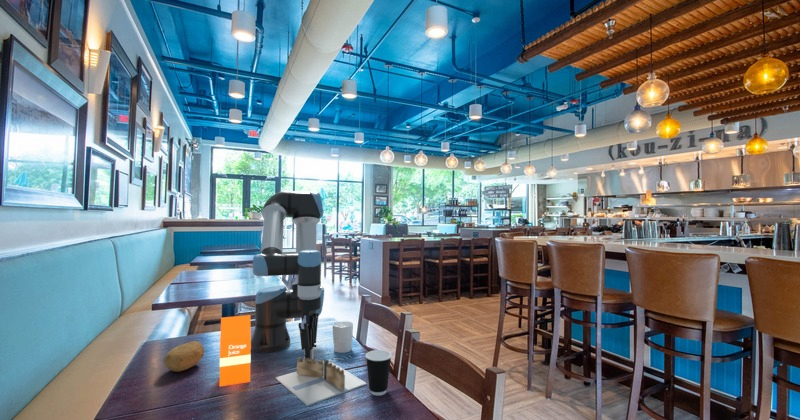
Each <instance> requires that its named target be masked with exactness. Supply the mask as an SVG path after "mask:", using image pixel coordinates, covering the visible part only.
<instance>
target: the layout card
mask: <svg viewBox="0 0 800 420" xmlns="http://www.w3.org/2000/svg"><path fill="white" fill-rule="evenodd" d="M330 362H331V363H332V365H336V368H337V367H339V368H340V370H342V369H343V370H344V375H345V389H344V390H340V389H338V388H337V387H336V386H334V385H333V384H331V383H330V382H328V381H327V380H326V379H324V376H323V377H322V378H321V377H314V376H307V375H300V374H297V370H296V371H292V372H290V373H287V374H283V375H280V376H276V377H275V380H277V381H278V382H279V383H280V384H282V385H283V386H284V387H285V388H286V389H287V390H288V391H289V392H290V393H292V394H293V395H294V396H295V397H296V398H298V400H300V401H301V402H302V403H303V404H304V405H306V406H307V407H309V406H311V405H315V404H317V403H319V402H322V401H325V400H328V399H330V398H333V397H336V396H339V395H341V394H344V393H348V392H350V391H352V390H356V389H358V388H361V387H363V386H367V382H365V381H364V380H362V379H361V378H359V377H357V376H356V375H354V374H352V373H351V372H349V371H347V370H345V369H344V368H342V367H341V366H339V365H338V364H335V363H334V362H332V361H329V363H330Z"/></svg>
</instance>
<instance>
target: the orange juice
mask: <svg viewBox="0 0 800 420" xmlns="http://www.w3.org/2000/svg"><path fill="white" fill-rule="evenodd" d="M251 339H252V334H251V314H248V315H235V316H226V317H225V316H224V317H221V318H220V338H219V387H227V386H231V385H239V384H243V383H244V384H245V383H250V382H251V363H252V361H251V356H252V354H251V351H252V350H251Z"/></svg>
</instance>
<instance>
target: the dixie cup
mask: <svg viewBox="0 0 800 420" xmlns="http://www.w3.org/2000/svg"><path fill="white" fill-rule="evenodd" d="M364 356H365V359H366V369H367V377H368V378H367V379H368V388H369V391H370V394H371V395H373V396H383V395H386V394H387V390H388V386H389V385H388V384H389V376H390V368H391V360H392V356H393V355H392V353H391V352H390V351H388V350H384V349H375V350H374V349H373V350H370V351H367V352H366V354H365V355H364Z"/></svg>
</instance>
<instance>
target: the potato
mask: <svg viewBox="0 0 800 420" xmlns="http://www.w3.org/2000/svg"><path fill="white" fill-rule="evenodd" d="M204 349H205V348H204V346H203V344H202V343H201V342H200V341H196V340H193V341H188V342H186V343H184V344H180V345H177V346H175V347H174V348H172V349H171V350H169V351H168V352H167V353H166V355H165V356H164V358H163V359H164V360H163V363H164V367H166V369H168V370H170V371H172V372H174V373H175V372H177V373H179V372H180V373H181V372H184V371H186V370H188V369H190V368H192V367H194V366H195V365H197V364H198V363H199V362H200V361H201V360H202V359H203V356H204V354H205V350H204Z"/></svg>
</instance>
